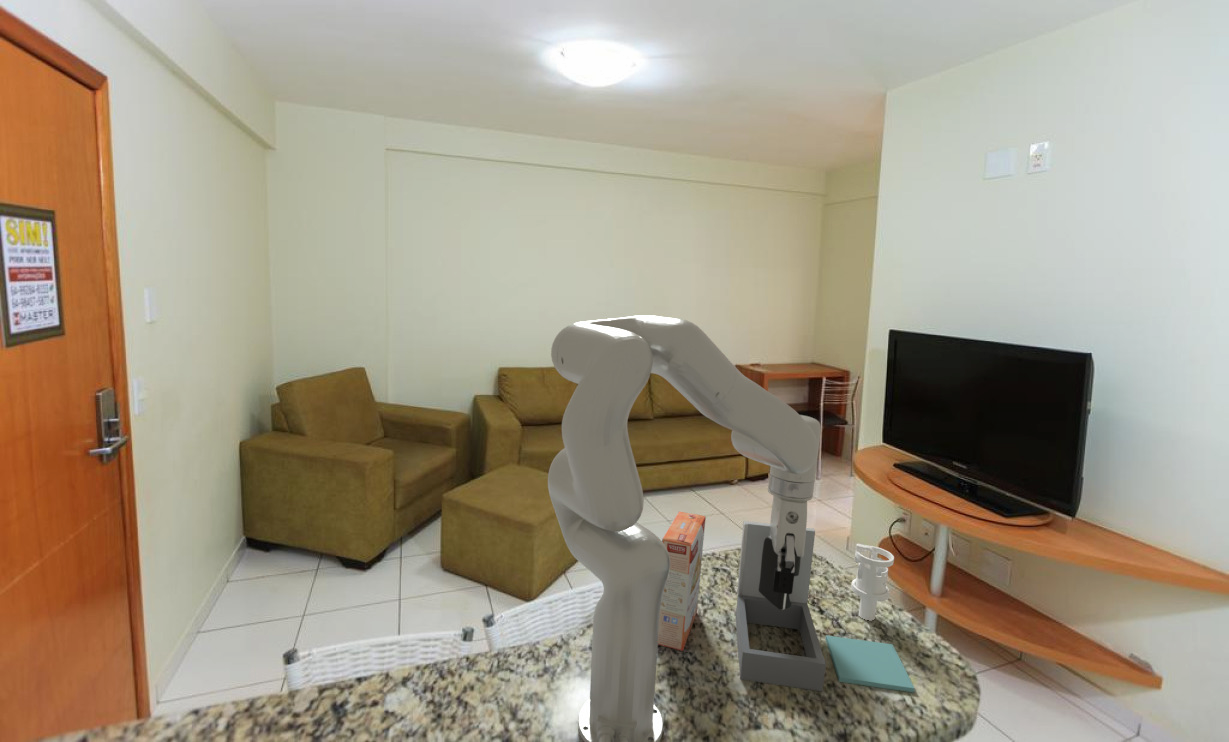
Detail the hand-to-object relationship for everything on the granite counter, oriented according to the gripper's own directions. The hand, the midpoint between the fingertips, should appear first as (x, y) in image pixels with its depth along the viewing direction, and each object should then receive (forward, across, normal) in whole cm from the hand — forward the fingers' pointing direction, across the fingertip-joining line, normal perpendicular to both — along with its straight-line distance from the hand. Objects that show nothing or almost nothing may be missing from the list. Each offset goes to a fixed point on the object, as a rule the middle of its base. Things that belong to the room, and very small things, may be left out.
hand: (779, 580), depth 103 cm
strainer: (+14, +17, -21) cm, 30 cm away
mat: (+14, +1, -17) cm, 22 cm away
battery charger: (+4, 0, 0) cm, 4 cm away
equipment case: (+14, +1, -1) cm, 14 cm away
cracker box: (+15, +4, +17) cm, 23 cm away
